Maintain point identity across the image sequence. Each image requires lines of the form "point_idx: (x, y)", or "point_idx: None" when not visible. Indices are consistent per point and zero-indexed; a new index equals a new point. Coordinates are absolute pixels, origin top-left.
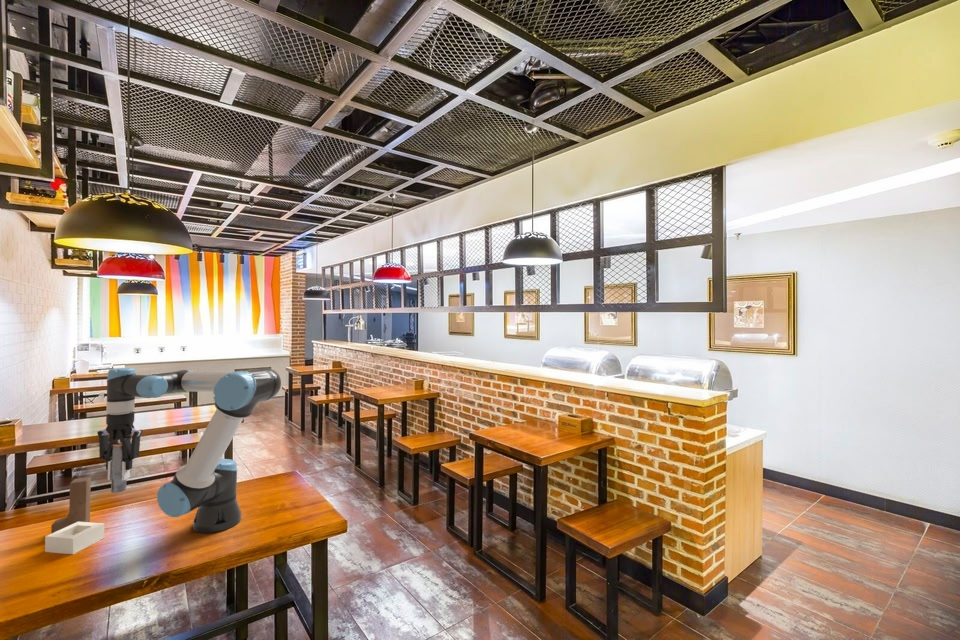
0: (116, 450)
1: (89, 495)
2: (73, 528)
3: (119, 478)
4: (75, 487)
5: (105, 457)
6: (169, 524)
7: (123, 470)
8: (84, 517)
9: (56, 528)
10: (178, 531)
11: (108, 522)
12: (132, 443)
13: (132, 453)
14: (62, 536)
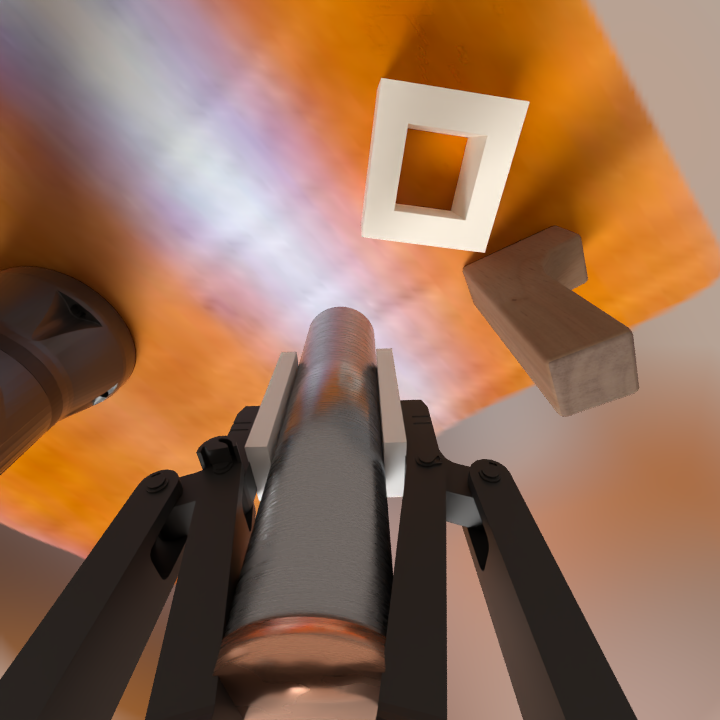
0: (288, 552)
1: (515, 351)
2: (468, 203)
3: (307, 356)
4: (583, 325)
5: (444, 476)
6: (217, 325)
7: (271, 393)
8: (480, 282)
9: (555, 237)
10: (138, 279)
11: (434, 333)
12: (26, 701)
13: (126, 529)
14: (449, 101)
